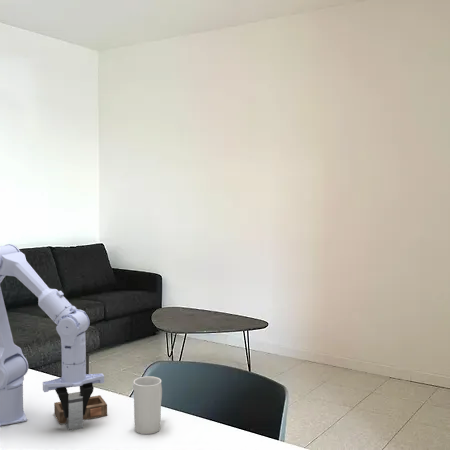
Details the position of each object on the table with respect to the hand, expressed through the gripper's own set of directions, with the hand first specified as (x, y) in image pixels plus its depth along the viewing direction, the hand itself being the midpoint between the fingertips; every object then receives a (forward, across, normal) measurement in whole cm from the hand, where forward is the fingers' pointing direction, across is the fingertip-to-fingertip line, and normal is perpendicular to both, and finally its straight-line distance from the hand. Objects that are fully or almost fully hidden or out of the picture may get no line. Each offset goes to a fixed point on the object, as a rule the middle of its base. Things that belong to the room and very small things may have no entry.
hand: (74, 415), depth 139 cm
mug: (+3, +17, -8) cm, 19 cm away
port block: (+3, +3, +6) cm, 8 cm away
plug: (+3, 0, 0) cm, 3 cm away
